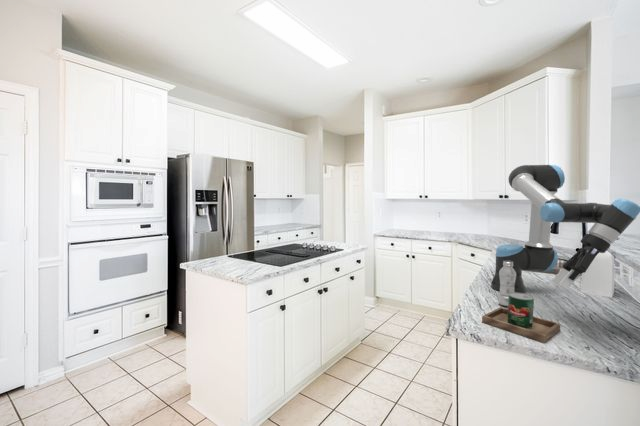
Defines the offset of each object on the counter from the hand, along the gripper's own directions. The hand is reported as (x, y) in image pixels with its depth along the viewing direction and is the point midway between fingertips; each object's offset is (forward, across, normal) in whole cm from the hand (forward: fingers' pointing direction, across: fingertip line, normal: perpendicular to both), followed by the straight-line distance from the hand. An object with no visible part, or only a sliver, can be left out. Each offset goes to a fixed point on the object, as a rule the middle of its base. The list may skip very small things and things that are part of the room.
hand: (559, 284), depth 110 cm
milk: (-10, +64, -26) cm, 69 cm away
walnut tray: (+21, -4, +2) cm, 21 cm away
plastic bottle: (+19, +18, +6) cm, 27 cm away
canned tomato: (+20, -4, +2) cm, 21 cm away
